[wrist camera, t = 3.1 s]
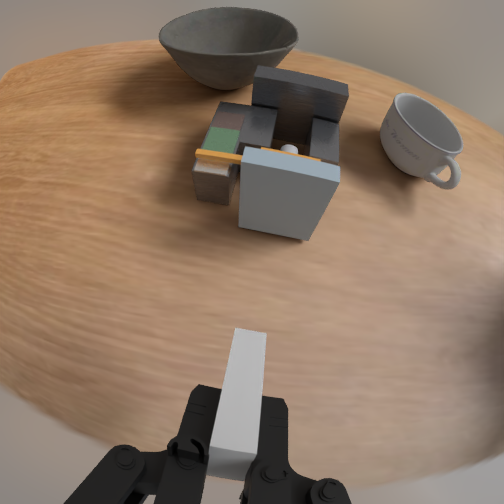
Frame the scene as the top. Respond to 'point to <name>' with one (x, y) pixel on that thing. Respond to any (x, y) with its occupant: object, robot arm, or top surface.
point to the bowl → (228, 44)
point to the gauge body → (271, 126)
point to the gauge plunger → (284, 192)
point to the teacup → (421, 139)
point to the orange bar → (235, 155)
